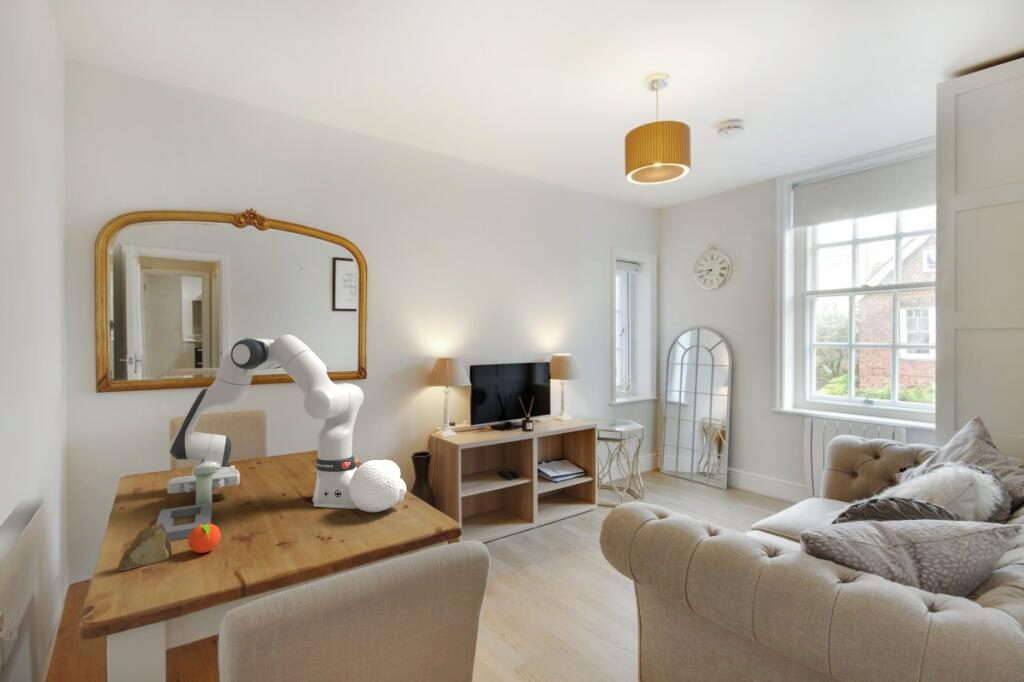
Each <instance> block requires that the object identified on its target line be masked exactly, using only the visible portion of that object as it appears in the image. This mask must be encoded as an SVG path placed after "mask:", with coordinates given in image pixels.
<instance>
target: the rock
mask: <svg viewBox="0 0 1024 682" xmlns="http://www.w3.org/2000/svg"><path fill="white" fill-rule="evenodd" d="M137 534H138V535H136V537H135V539H134V540H133V541H132V542H131V544H130V545H129V547H128V548H126V550H124V552H123V554H122V557H121V559H120V561H119V563H118V572H123V570H124V571H127V570H132V568H133V569H136V567H137V568H141V567H145V566H149V565H152V564H153V565H154V564H156V563H157V564H158V563H159V562H163V561H166V560H168V559H169V558H171V557H172V554H173V551H172V544H171V541H170V540H169V538H168V535H167V532H166V530H165V527H164V526H163V524H156V523H155V524H152V525H149V526H148V527H146V528H144V529H142V530H140V531H139V532H138V533H137ZM140 566H141V567H140Z"/></svg>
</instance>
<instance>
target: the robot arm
mask: <svg viewBox="0 0 1024 682" xmlns="http://www.w3.org/2000/svg"><path fill="white" fill-rule="evenodd" d="M327 367H328V366H327V365H326V364H325V363H324V362H323V361H322V360H321V358H320V357H319V356H318V355H317V354H316V353H315V352H314V351H313V350H312V349H311V348H310V347H309V346H308V345H307V344H306V343H305V342H304V341H302V340H301V339H300V338H298V337H296V336H295V335H293V334H288V333H287V334H282V335H281V336H278V337H277V338H276V339H270V338H264V337H263V338H260V337H259V338H244V339H241V340H239V341H236V343H234V344H233V346H232V347H231V350H230V351H228V352H226V354H225V356H224V358H223V359H222V361H221V364H220V366H219V368H218V370H217V374H216V377H215V378H214V379H215V380H214V381H213V383H212V384H210V386H209V387H206V388H203V389H202V390H201V391H200V392H199V393H198V395H197V397H196V399H195V400H194V402H193V403H192V405H191V407H190V409H189V411H188V412H187V414H186V416H185V418H184V420H183V423H182V424H181V427H180V428H179V430H178V431H177V433H176V434H175V435H174V436H173V438H172V439H171V441H170V445H169V453H170V455H172V457H173V458H174V459H175V460H180V461H185V460H186V461H188V460H189V461H190V460H192V461H197V462H196V463H195V465H194V466H193V468H192V470H191V473H190V474H191V475H184V476H178V477H173V478H171V479H170V480H168V482H167V483H166V485H167V486H166V487H167V488H166V489H167V491H166V492H167V494H171V495H172V494H178V493H179V494H180V493H193V492H196V476H195V475H193V470H194V469H196V468H200V467H207V466H212V467H215V473H213V474H212V490H218V489H221V488H226V487H232V486H233V487H234V486H239V485H240V484H241V482H240V481H241V477H240V476H241V473H240V472H239V470H238V469H236V467H235V465H227V464H228V463H229V459H230V456H231V452H232V441H231V439H230V438H229V436H227V435H225V434H224V435H223V434H217V433H216V434H215V433H206V432H199V431H195V428H196V426H197V424H198V422H199V420H200V418H201V417H202V415H203V413H204V412H206V411H207V410H210V409H212V408H215V407H222V406H223V407H224V406H229V405H233V404H236V403H238V402H240V401H241V400H243V399H244V398H245V397H246V395H247V394H248V391H249V390H250V386H251V383H252V381H253V376H254V373H255V372H256V371H257V370H262V371H263V370H265V371H266V370H272V369H273V370H274V369H276V370H277V369H279V368H282V369H283V370H284V371H285V372H286V374H288V376H289V378H291V379H292V380H293V382H295V383H296V385H297V386H298V387H299V389H300V390H301V393H302V394H303V396H304V399H303V407H304V410H305V413H306V414H307V415H308V416H309V417H311V418H313V419H319V420H325V421H324V424H323V426H322V428H321V429H320V431H319V433H318V436H317V458H316V463H315V464H316V466H315V469H316V472H317V473H316V481H315V488H314V492H313V496H312V499H311V501H312V503H313V507H318V508H331V509H349V510H350V509H353V510H357V509H359V508H358V507H357V506H356V505H355V504H354V503H353V501H352V499H351V496H350V493H349V484H350V481H351V478H352V475H353V474H354V472H355V471H356V469H357V468H358V467H357V463H359V462H360V461H359V458H355V456H354V455H353V434H354V428H355V423H356V419H357V416H358V413H359V410H360V408H361V406H362V405H363V403H364V397H365V396H364V392H363V390H362V388H360V386H359V385H356V384H354V383H349V382H344V383H334V382H333V381H332V380H331V378H330V377H329V375H328V368H327Z"/></svg>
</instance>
